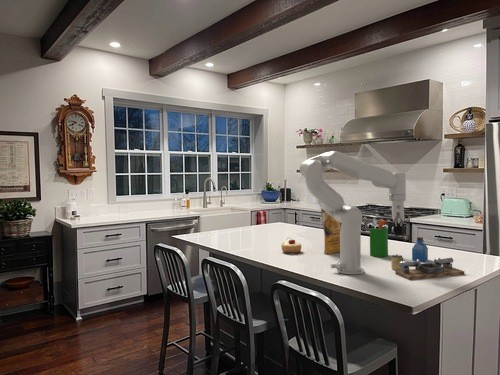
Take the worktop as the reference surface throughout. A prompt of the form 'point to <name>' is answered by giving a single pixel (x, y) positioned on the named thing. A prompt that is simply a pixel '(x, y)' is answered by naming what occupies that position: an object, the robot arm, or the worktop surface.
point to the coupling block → (396, 261)
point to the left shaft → (409, 265)
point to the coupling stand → (429, 272)
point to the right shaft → (444, 262)
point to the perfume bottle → (420, 250)
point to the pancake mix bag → (331, 233)
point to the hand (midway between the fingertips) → (397, 232)
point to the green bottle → (379, 241)
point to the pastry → (291, 247)
